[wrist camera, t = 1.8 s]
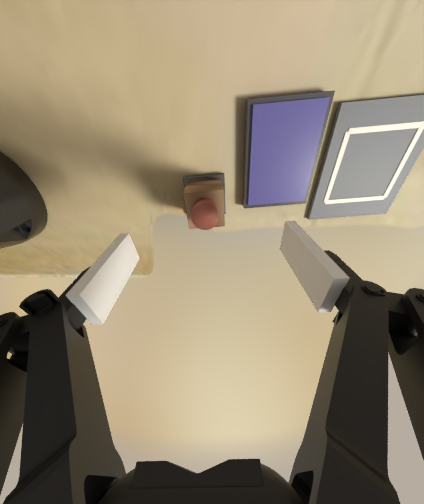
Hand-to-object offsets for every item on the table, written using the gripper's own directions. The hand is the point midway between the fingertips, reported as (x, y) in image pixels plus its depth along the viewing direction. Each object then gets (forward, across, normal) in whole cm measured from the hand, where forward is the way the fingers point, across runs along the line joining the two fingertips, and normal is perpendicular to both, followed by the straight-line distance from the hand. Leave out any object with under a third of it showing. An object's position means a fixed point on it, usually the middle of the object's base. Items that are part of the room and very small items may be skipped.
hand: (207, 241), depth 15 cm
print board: (+13, +22, +2) cm, 25 cm away
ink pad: (+13, +10, +4) cm, 16 cm away
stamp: (+13, 0, 0) cm, 13 cm away
